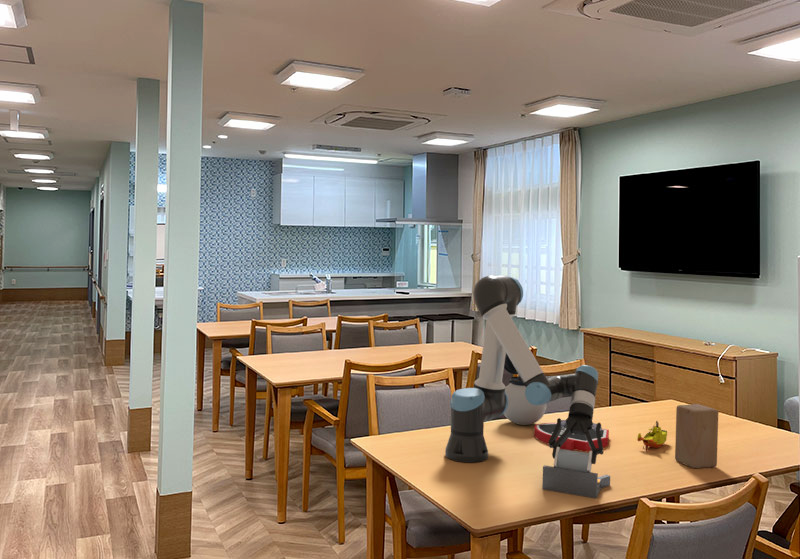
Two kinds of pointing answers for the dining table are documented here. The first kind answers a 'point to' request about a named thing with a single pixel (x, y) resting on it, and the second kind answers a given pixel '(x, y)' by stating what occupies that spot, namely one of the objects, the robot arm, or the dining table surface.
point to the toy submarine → (654, 437)
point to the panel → (573, 460)
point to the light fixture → (520, 400)
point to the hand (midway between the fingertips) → (571, 470)
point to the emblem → (570, 437)
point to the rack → (573, 481)
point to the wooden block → (696, 435)
